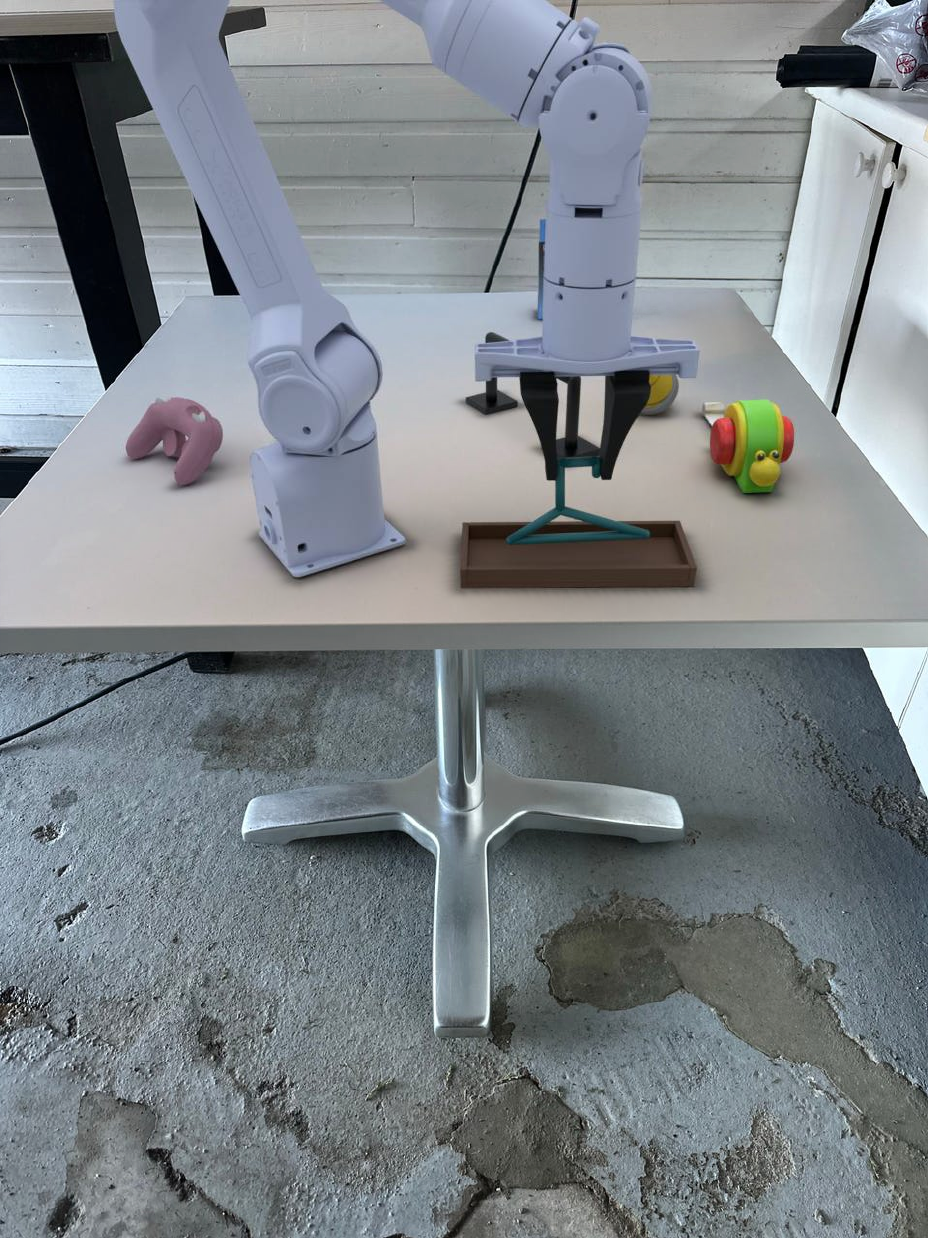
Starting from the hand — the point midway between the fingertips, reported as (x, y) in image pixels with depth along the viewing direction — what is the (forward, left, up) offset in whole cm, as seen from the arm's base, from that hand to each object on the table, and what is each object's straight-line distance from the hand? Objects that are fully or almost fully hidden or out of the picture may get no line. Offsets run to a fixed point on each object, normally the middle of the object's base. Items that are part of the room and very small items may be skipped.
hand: (578, 474), depth 64 cm
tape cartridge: (+36, +50, -8) cm, 62 cm away
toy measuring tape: (+24, +7, -8) cm, 26 cm away
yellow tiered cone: (+23, +19, -8) cm, 31 cm away
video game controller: (-21, +34, -8) cm, 40 cm away
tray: (0, 0, -7) cm, 7 cm away
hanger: (0, 0, -6) cm, 6 cm away
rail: (+11, +23, -7) cm, 27 cm away
